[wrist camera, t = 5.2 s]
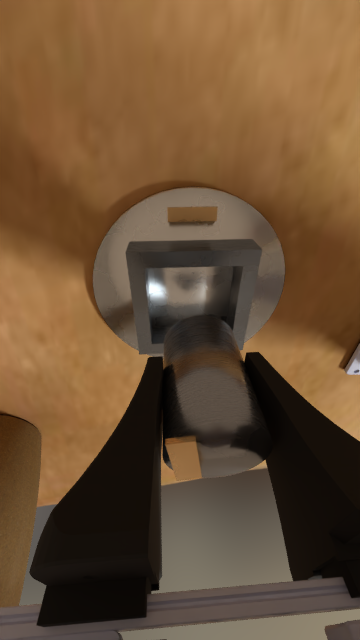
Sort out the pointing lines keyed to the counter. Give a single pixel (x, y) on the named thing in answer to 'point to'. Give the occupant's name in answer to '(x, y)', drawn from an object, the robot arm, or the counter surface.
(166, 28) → the counter surface
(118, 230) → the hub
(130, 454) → the robot arm
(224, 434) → the shaft
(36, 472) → the plant pot
